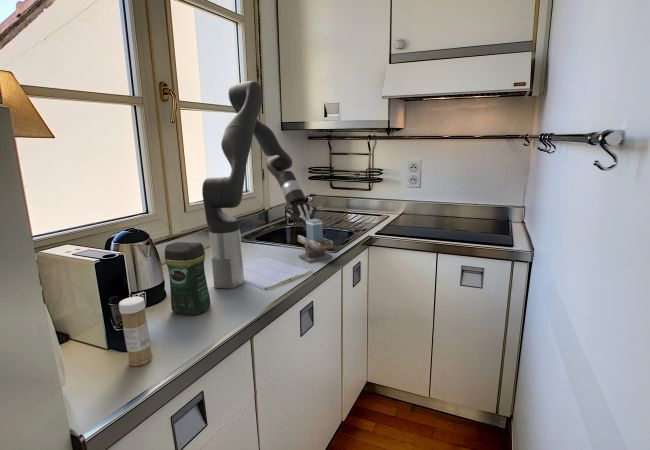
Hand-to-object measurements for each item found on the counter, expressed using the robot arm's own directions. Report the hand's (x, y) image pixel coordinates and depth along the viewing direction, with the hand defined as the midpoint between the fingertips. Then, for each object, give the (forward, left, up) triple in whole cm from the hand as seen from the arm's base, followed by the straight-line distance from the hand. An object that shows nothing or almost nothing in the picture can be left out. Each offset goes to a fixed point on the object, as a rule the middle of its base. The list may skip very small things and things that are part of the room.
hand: (310, 230), depth 142 cm
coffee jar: (-48, +24, -10) cm, 55 cm away
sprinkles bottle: (-72, +23, -10) cm, 76 cm away
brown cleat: (-2, -2, -10) cm, 10 cm away
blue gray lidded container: (-2, -2, -4) cm, 5 cm away
